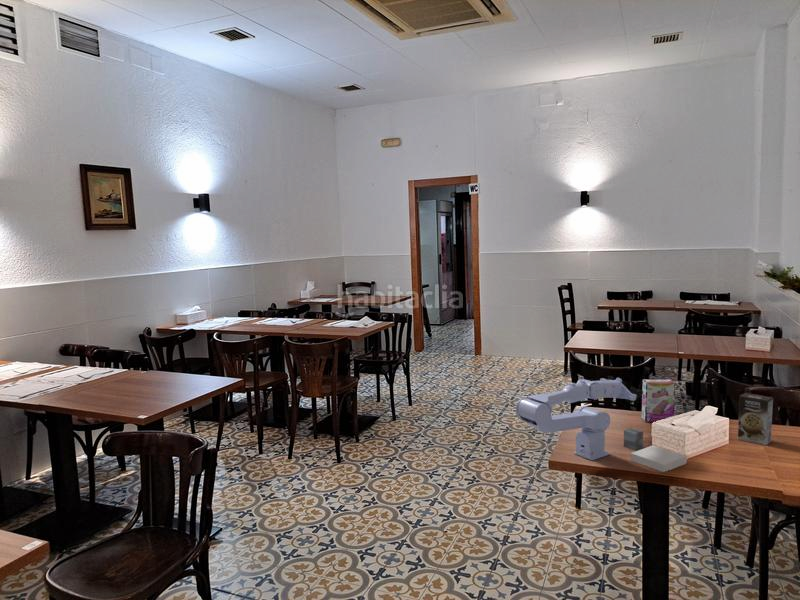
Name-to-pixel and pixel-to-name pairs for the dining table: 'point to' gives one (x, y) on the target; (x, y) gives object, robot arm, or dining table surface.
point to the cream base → (658, 458)
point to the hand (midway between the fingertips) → (632, 389)
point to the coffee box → (755, 418)
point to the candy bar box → (657, 399)
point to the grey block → (633, 438)
